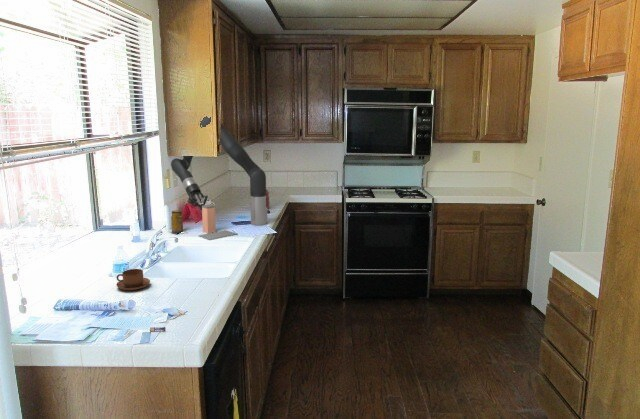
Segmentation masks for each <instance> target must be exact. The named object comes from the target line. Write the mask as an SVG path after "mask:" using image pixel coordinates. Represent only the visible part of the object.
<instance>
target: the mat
mask: <svg viewBox="0 0 640 419" xmlns="http://www.w3.org/2000/svg"><path fill="white" fill-rule="evenodd" d="M235 233H236V234H237V235H238V233H237V232H233V231H230V230H227V229H224V230H220V231H219V230H218V231H216V232H213V233H204V234H199V235H197V237H198V236H199V238H201V237H202V239H205V240H207V241H208V240H209V241H212V240H218V239H222V238H227V236H228V237H231V235H232V236H235V235H234V234H235Z"/></svg>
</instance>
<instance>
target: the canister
mask: <svg viewBox="0 0 640 419" xmlns="http://www.w3.org/2000/svg"><path fill="white" fill-rule="evenodd" d="M266 208H267V210H269V209H270V191H269V188H268V187H267V186H266Z"/></svg>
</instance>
